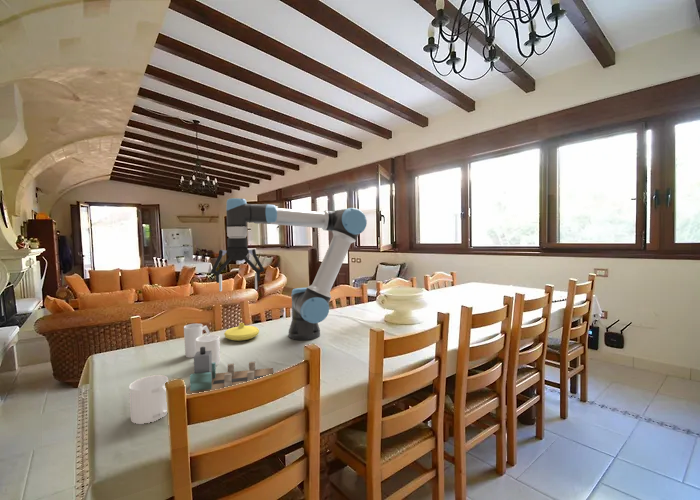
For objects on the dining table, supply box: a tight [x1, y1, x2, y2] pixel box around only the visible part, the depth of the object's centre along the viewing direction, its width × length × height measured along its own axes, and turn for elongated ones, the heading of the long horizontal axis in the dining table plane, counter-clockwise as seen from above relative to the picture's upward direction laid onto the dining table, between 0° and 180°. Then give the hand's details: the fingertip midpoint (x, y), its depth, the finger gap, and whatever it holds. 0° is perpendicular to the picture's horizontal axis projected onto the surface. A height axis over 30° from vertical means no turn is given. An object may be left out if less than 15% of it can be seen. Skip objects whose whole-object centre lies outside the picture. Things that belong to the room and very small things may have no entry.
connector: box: [193, 347, 212, 376], centre depth 106 cm, size 4×4×12 cm
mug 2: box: [183, 323, 211, 359], centre depth 134 cm, size 10×7×12 cm, turn 139°
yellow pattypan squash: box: [223, 322, 260, 342], centre depth 153 cm, size 16×16×7 cm
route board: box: [185, 361, 274, 394], centre depth 108 cm, size 26×14×6 cm, turn 104°
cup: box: [196, 334, 221, 367], centre depth 125 cm, size 8×12×10 cm
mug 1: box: [128, 374, 169, 425], centre depth 89 cm, size 12×9×9 cm
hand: (238, 290), depth 132 cm, fingers open, 13 cm apart
